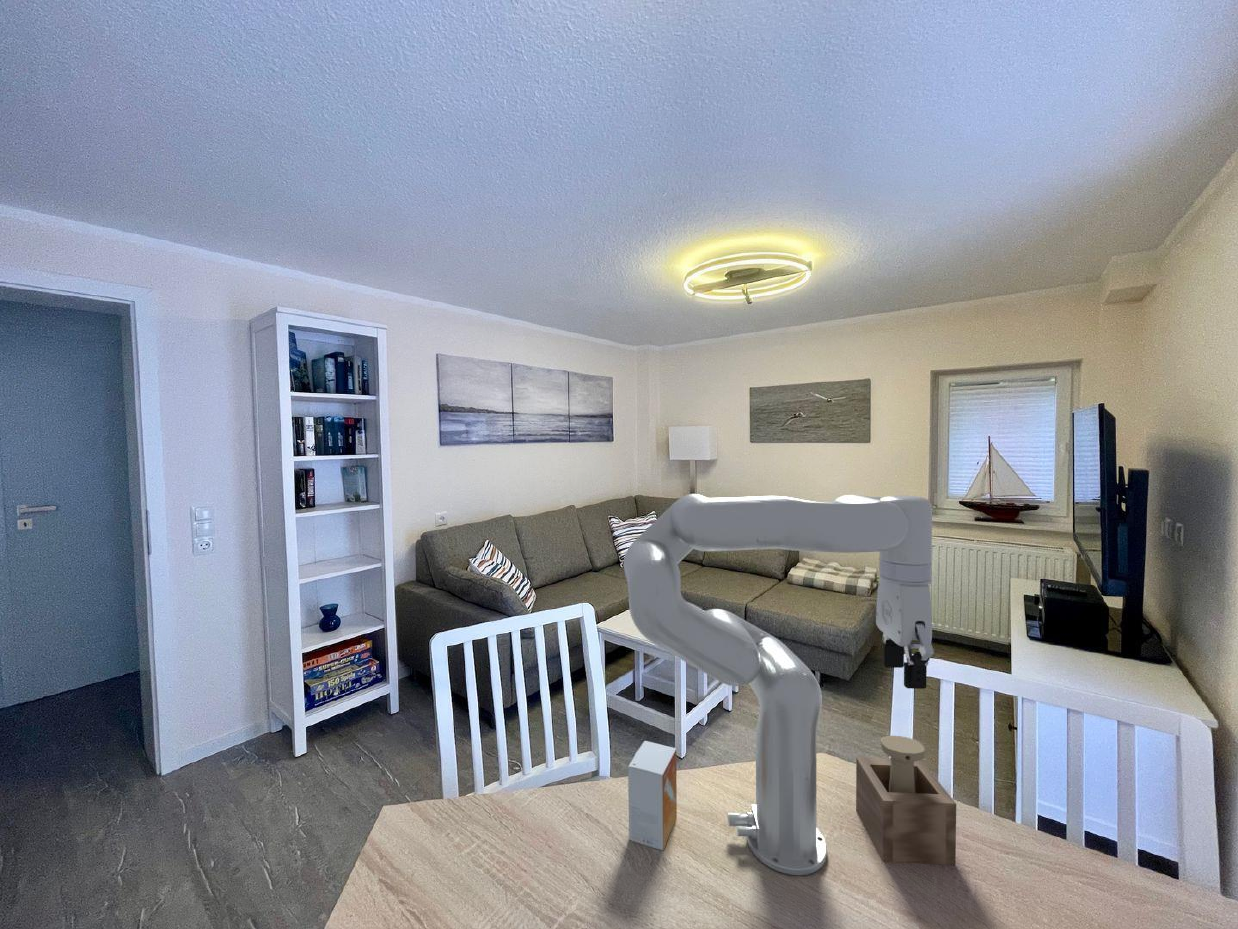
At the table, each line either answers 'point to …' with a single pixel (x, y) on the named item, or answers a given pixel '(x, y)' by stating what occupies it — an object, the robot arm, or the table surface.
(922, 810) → the sleeve
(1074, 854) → the table surface
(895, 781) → the handle
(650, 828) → the small box
